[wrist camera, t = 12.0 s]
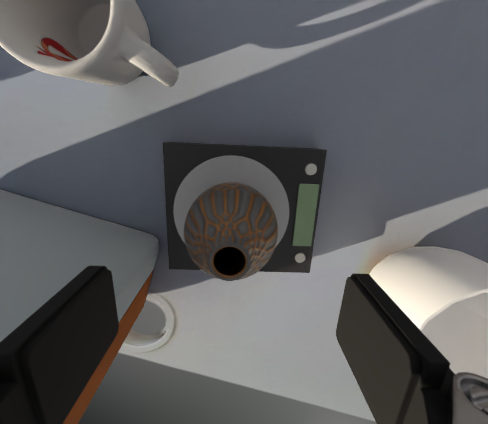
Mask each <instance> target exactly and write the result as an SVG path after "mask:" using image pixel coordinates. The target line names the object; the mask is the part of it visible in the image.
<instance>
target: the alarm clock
mask: <svg viewBox="0 0 488 424" xmlns="http://www.w3.org/2000/svg"><path fill="white" fill-rule="evenodd" d="M158 251H159V243H158V239H157V237H155V236H153V235H151V234H149V233H146V232H142V231H139V230H136V229H132V228H129V227H125V226H122V225H119V224H115V223H112V222H108V221H105V220H102V219H98V218H95V217H92V216H88V215H85V214H82V213H78V212H75V211H71V210H68V209H65V208H61V207H58V206H55V205H51V204H48V203H44V202H41V201H38V200H34V199H31V198H27V197H24V196H21V195H17V194H14V193H11V192H7V191H4V190H0V342H1V341H2V340H3V339H4V338H6V337H7V336H8V335H9V334H10V333H11V332H12V331H14V330H15V329H16V328H17V327H18V326H19V325H21V324H22V323H23V322H24V321H25V320H26V319H27V318H29V317H30V316H31V315H32V314H33V313H34V312H35V311H37V310H38V309H39V308H40V307H41V306H42V305H44V304H45V303H46V302H47V301H48V300H49V299H50V298H52V297H53V296H54V295H55V294H56V293H57V292H58V291H60V290H61V289H62V288H63V287H64V286H65V285H67V284H68V283H69V282H70V281H71V280H72V279H73V278H75V277H76V276H77V275H78V274H79V273H80V272H81V271H83V270H84V269H85V268H86V267H87V266H106V267H107V269H108V270H111V272H112V278H113V286H114V293H115V300H116V307H117V314H118V321H119V330H118V334H117V336H116V338H115V339H114V341H113V342H112V344H111V346H110V347H109V349H108V351H107V352H106V354H105V356H104V357H103V359H102V360H101V362H100V364H99V365H98V367H97V369H96V370H95V372H94V374H93V375H92V377H91V378H90V380H89V382H88V383H87V385H86V387H85V388H84V390H83V392H82V393H81V395H80V396H79V398H78V400H77V401H76V403H75V405H74V406H73V408H72V410H71V411H70V413H69V414H68V416H67V418H66V419H65V421H64V423H63V424H78V422H79V420H80V418H81V417H82V415H83V413H84V411H85V410H86V408H87V406H88V404H89V403H90V401H91V399H92V397H93V396H94V394H95V392H96V390H97V389H98V387H99V385H100V383H101V381H102V379H103V378H104V376H105V374H106V373H107V371H108V369H109V367H110V365H111V364H112V362H113V360H114V358H115V356H116V355H117V353H118V351H119V349H120V347H121V346H122V344H123V342H124V340H125V338H126V337H127V335H128V333H129V331H130V329H131V327H132V326H133V324H134V322H135V320H136V319H137V317H138V315H139V313H140V312H141V310H142V308H143V306H144V303H145V300H146V296H147V292H148V289H149V285H150V281H151V277H152V274H153V269H154V266H155V262H156V259H157V255H158Z"/></svg>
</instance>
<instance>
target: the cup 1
mask: <svg viewBox="0 0 488 424" xmlns="http://www.w3.org/2000/svg"><path fill="white" fill-rule="evenodd" d="M0 46H1V47H2V48H4V49H5V50H6V51H7V52H8V53H9V54H11V55H12V56H13V57H14V58H16V59H17V60H19V61H21V62H22V63H24V64H26V65H28V66H30V67H32V68H34V69H36V70H39V71H41V72H45V73H48V74H52V75H58V76H63V77H68V78H73V79H78V80H83V81H88V82H93V83H98V84H104V85H122V84H126V83H129V82H131V81H133V80H134V79H136V78H137V77H138V76H139V75H140V74H141V73H142V72H143V71H144V72H145V73H147V74H149V75H150V76H152V77H154V78H155V79H157V80H159V81H160V82H162V83H163V84H165V85H167V86H169V87H172V86H173V85H174V84H175V82H176V80H177V78H178V74H179V73H178V70H177V68H176V67H175V66H174V65H173V64H172V63H171V62H170V61H169V60H168V59H167V58H166V57H165V56H163V55H162V54H161V53H159V52H158V51H157V50H155V49H154V48H153V47H151V43H150V35H149V30H148V27H147V24H146V21H145V19H144V16H143V14H142V12H141V10H140V8H139V7H138V5H137V3H136V1H135V0H0Z"/></svg>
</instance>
